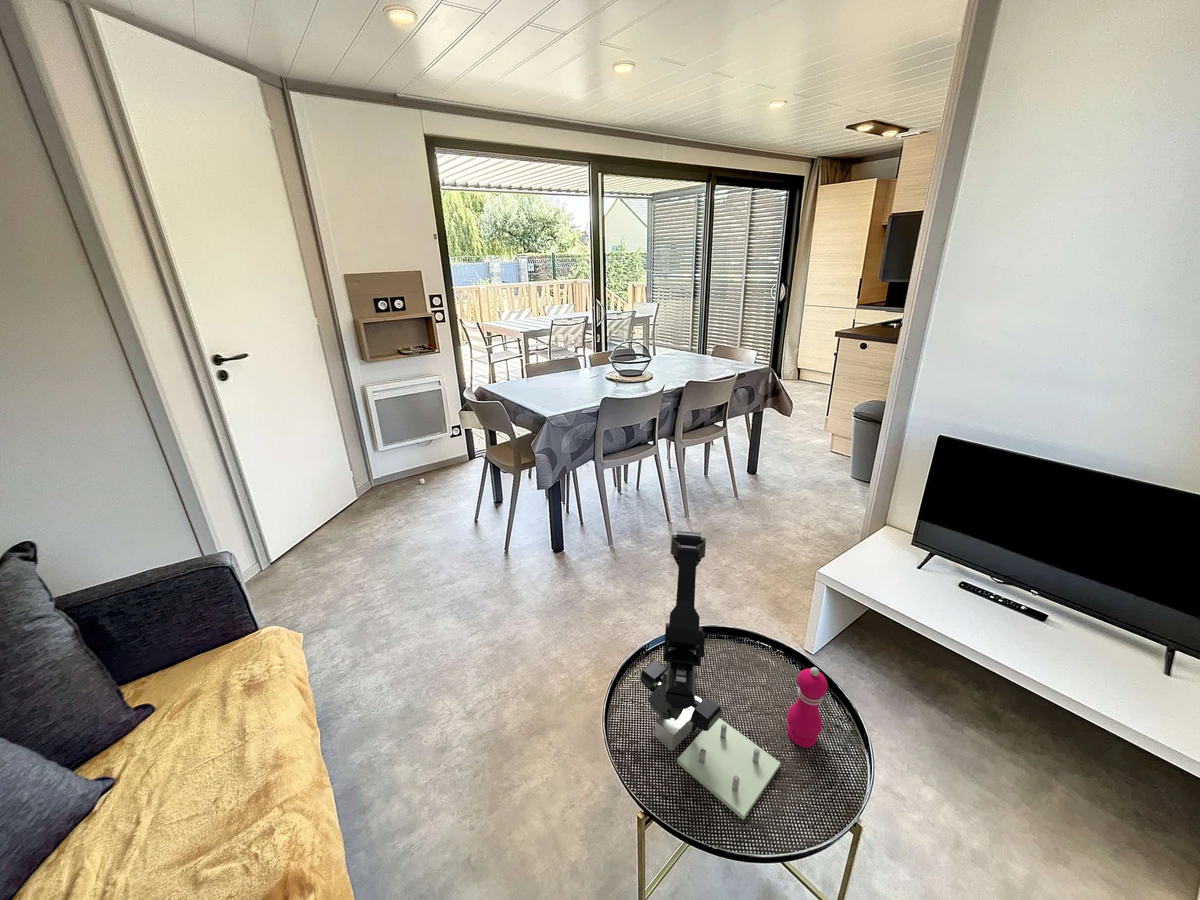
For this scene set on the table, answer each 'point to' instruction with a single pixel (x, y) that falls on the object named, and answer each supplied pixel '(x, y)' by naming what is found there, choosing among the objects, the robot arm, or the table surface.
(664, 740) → the block
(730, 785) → the pale green peg board
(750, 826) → the table surface
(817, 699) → the pepper mill
